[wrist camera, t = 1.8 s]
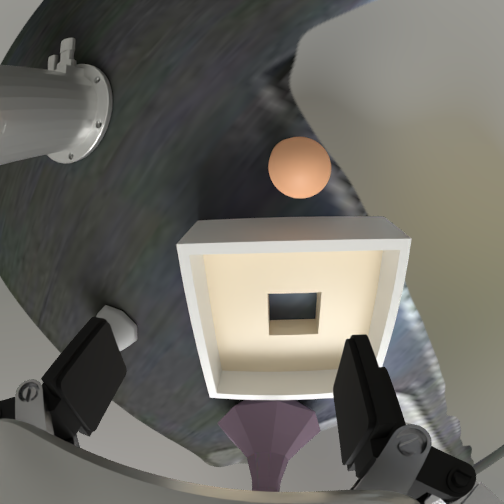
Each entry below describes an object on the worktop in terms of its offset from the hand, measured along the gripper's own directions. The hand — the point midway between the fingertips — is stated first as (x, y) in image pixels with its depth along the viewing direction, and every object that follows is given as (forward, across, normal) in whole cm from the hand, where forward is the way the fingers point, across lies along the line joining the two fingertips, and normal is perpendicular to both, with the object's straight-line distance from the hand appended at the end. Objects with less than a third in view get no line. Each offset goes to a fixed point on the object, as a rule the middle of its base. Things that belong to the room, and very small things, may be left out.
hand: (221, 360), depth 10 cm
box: (+20, -4, +10) cm, 23 cm away
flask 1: (+20, +21, +16) cm, 33 cm away
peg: (+20, -3, -6) cm, 21 cm away
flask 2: (+21, -2, +32) cm, 38 cm away
